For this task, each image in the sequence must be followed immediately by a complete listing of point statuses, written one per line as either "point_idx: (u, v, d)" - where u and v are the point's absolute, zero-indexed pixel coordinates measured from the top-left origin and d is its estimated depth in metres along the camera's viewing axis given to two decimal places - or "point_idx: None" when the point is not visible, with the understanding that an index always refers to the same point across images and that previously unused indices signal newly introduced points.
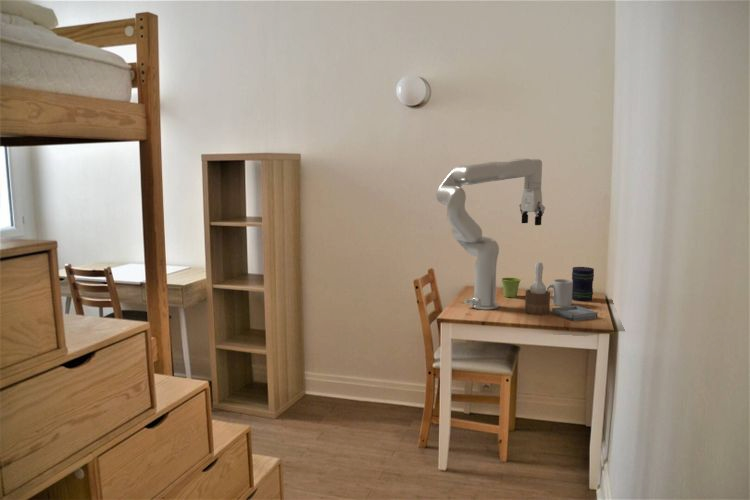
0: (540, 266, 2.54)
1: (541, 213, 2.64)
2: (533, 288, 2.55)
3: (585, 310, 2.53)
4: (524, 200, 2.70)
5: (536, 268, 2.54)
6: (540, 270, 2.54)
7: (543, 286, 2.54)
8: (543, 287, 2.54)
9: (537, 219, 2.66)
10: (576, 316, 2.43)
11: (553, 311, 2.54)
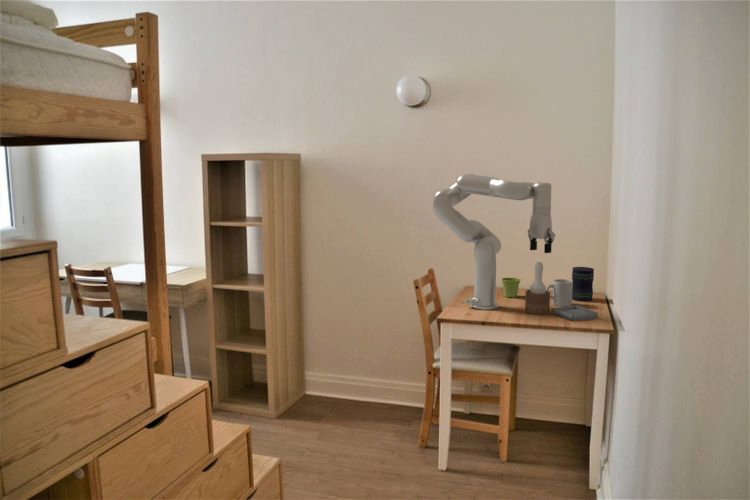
0: (540, 266, 2.54)
1: None
2: (533, 288, 2.55)
3: (585, 310, 2.53)
4: (532, 226, 2.53)
5: (536, 268, 2.54)
6: (540, 270, 2.54)
7: (543, 286, 2.54)
8: (543, 287, 2.54)
9: (546, 247, 2.49)
10: (576, 316, 2.43)
11: (553, 311, 2.54)
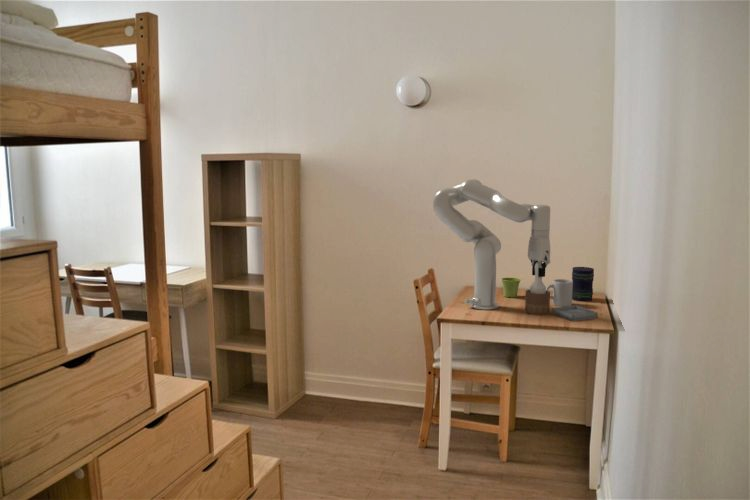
0: None
1: None
2: (533, 288, 2.55)
3: (585, 310, 2.53)
4: (531, 248, 2.55)
5: (536, 268, 2.54)
6: None
7: (543, 286, 2.54)
8: (543, 287, 2.54)
9: (540, 271, 2.53)
10: (576, 316, 2.43)
11: (553, 311, 2.54)
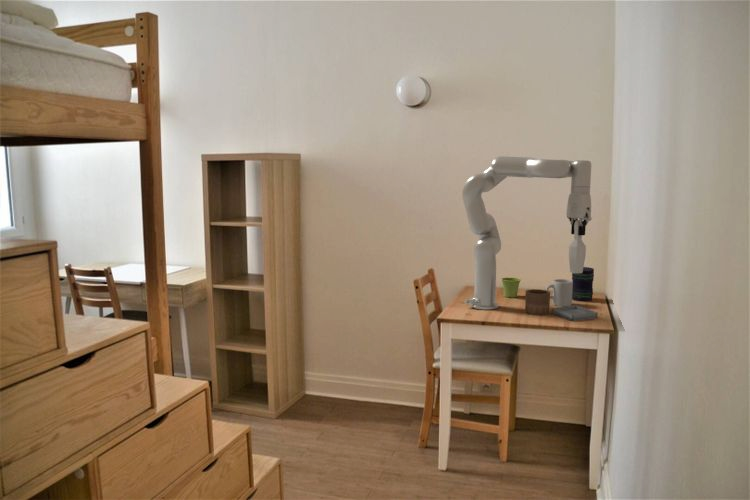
0: None
1: None
2: (572, 247, 2.45)
3: (585, 310, 2.53)
4: (571, 205, 2.45)
5: (576, 226, 2.45)
6: None
7: (583, 245, 2.45)
8: (583, 246, 2.45)
9: (580, 229, 2.43)
10: (576, 316, 2.43)
11: (553, 311, 2.54)
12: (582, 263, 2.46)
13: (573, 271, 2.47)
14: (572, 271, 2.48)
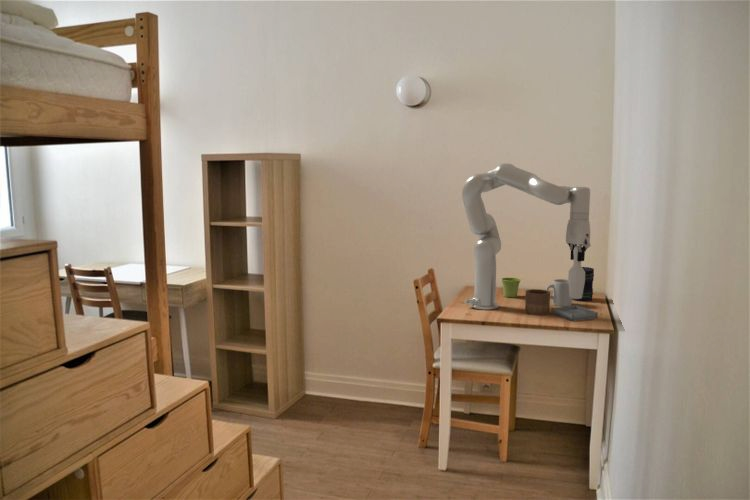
0: None
1: None
2: (572, 273, 2.47)
3: (585, 310, 2.53)
4: (570, 231, 2.47)
5: (575, 252, 2.46)
6: None
7: (582, 271, 2.46)
8: (582, 272, 2.46)
9: (579, 255, 2.45)
10: (576, 316, 2.43)
11: (553, 311, 2.54)
12: (581, 288, 2.48)
13: (573, 296, 2.49)
14: (572, 296, 2.49)
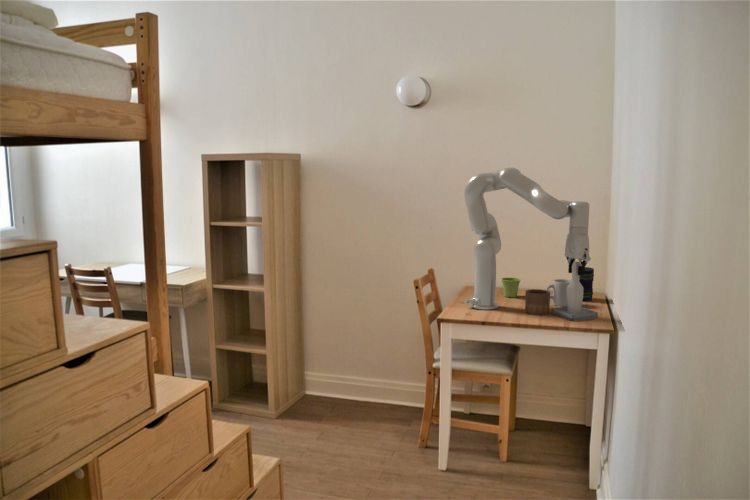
0: (577, 266, 2.47)
1: None
2: (570, 288, 2.48)
3: (585, 310, 2.53)
4: (569, 245, 2.48)
5: (573, 268, 2.48)
6: (577, 270, 2.47)
7: (581, 286, 2.48)
8: (581, 287, 2.47)
9: (580, 269, 2.45)
10: (576, 316, 2.43)
11: (553, 311, 2.54)
12: (580, 304, 2.49)
13: (571, 312, 2.50)
14: (570, 312, 2.50)
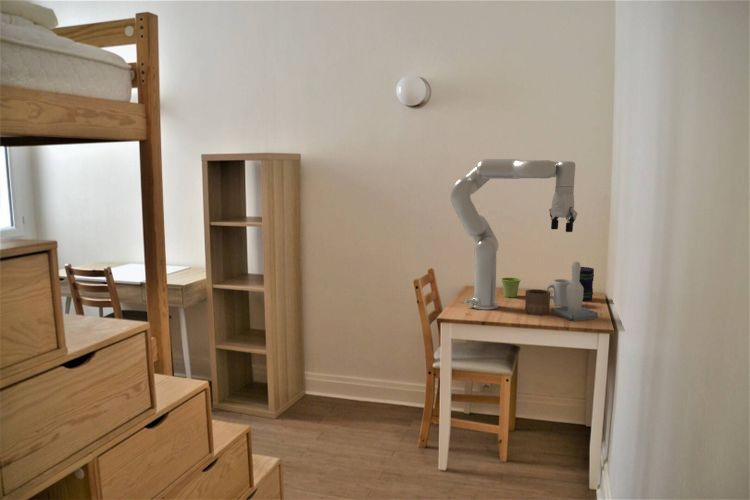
0: (578, 266, 2.47)
1: (573, 219, 2.46)
2: (570, 288, 2.48)
3: (585, 310, 2.53)
4: (555, 205, 2.53)
5: (573, 268, 2.48)
6: (578, 270, 2.47)
7: (581, 286, 2.48)
8: (581, 287, 2.47)
9: (568, 226, 2.48)
10: (576, 316, 2.43)
11: (553, 311, 2.54)
12: (580, 304, 2.49)
13: (571, 312, 2.50)
14: (570, 312, 2.50)
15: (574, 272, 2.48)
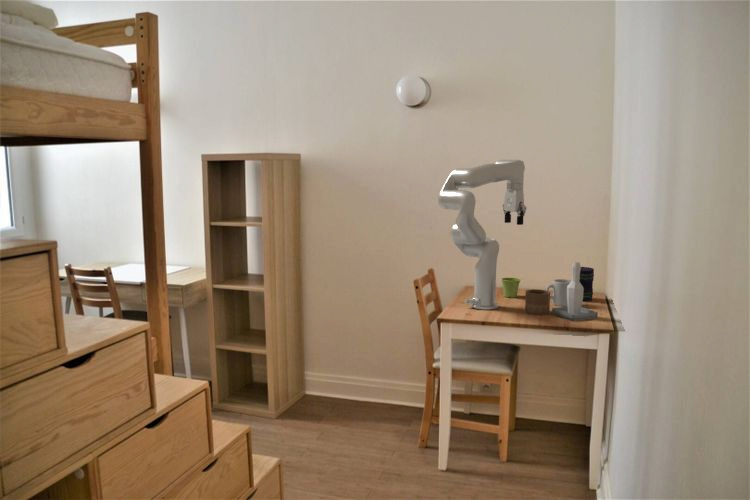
0: (578, 266, 2.47)
1: (523, 213, 2.70)
2: (570, 288, 2.48)
3: (585, 310, 2.53)
4: (507, 200, 2.76)
5: (573, 268, 2.48)
6: (578, 270, 2.47)
7: (581, 286, 2.48)
8: (581, 287, 2.47)
9: (518, 219, 2.72)
10: (576, 316, 2.43)
11: (553, 311, 2.54)
12: (580, 304, 2.49)
13: (571, 312, 2.50)
14: (570, 312, 2.50)
15: (574, 272, 2.48)
